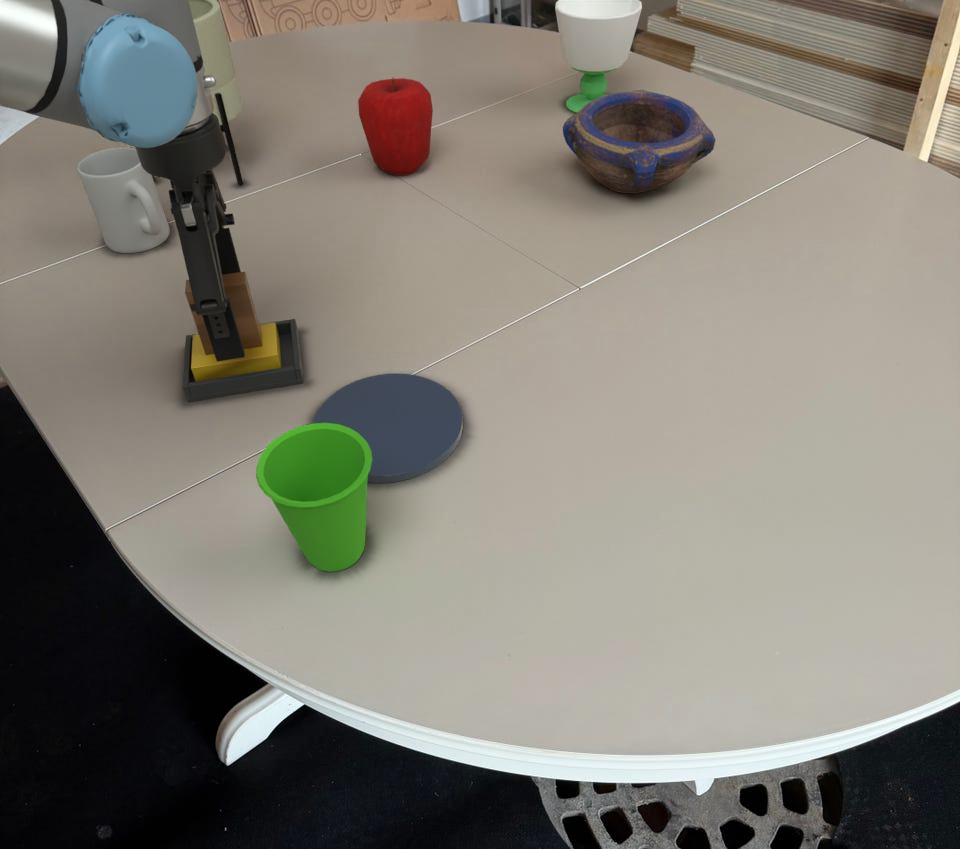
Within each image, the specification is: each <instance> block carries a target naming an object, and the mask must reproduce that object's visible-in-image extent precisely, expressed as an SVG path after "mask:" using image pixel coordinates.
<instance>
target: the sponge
mask: <svg viewBox="0 0 960 849" xmlns="http://www.w3.org/2000/svg"><path fill="white" fill-rule="evenodd" d="M222 278H223V283H224V289H225V294H226V297H227V299H228V298H229V300H230V303H231V307H232V310H233V314H234V317H235V321H236V324H237V328H238V331H239V335H240V338H241V342H242V345H243V349H244V352H245V357H243V358H237V359H230V360H224V361H218V362H217V360H216V357H215V354H214V351H213V348H212V345H211V341H210V338H209V335H208V332H207V329H206V326H205V323H204V319H203V316H202V315H200V316H198V315H197V314H196V312H195V311H194V312H192V311H191V308H190V304H194V299H193V295H192V290H191V286H190V282H189V279H185V287H184V288H185V289H184V294H185V298H186V300H187V303H188V305H189V309H190V312H191V315H192V318H193V321H194V324H195V327H196V330H197V333H195V334H196V335H193V334H192V335H193V342H192V360H191V370H192V372H193V375H194V378H195V381H196V382H197V381H203V380H209V379H215V378H221V377H228V376H234V375H240V374H246V373H252V372H258V371H265V370H271V369H277V368H282V365H281V351H280V339H279V335H278V331H277V327H276V323H275V322H276V321H273V322H274V323H270V322H266V323H267V324H264V323H260V320H259V316H258V313H257V310H256V305H255V301H254V298H253V294H252V290H251V287H250V284H249V283H250V282H249V279H248V275H247V272H246V271H245V270H244V271H241V272H237V273H231V274H224V275H222ZM260 324H261V325H260Z"/></svg>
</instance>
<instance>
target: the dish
mask: <svg viewBox="0 0 960 849" xmlns="http://www.w3.org/2000/svg"><path fill="white" fill-rule="evenodd" d="M274 322H275V323H276V327H277V331H278V335H279V339H280V351H281V365H282V368H277V369H271V370H265V371H258V372H252V373H246V374H240V375H234V376H228V377H221V378H215V379H209V380H203V381H197V382H196V381H195V378H194V375H193V372H192V370H191V360H192V342H193V335H196V334H197V333H194V334H193V333H192V334H187V335H185V342H184V355H183V356H184V358H183V370H182V371H183V372H182V386H181V387H182V390H183V393H184V395H185V398H186V401H187V402H188V403H190V402H197V401H202V400H209V399H214V398H221V397H227V396H233V395H238V394H239V395H240V394H245V393H250V392H257V391H263V390H269V389H275V388H282V387H286V386H287V387H288V386H292V385H293V386H294V385H299V384H300V385H301V384H304V382H305V380H304V372H303V363H302V362H303V361H302V355H301V354H302V353H301V343H300V342H301V341H300V334H299V330H298V328H299V327H298V324H297V319H296V318H291V319H284V320H283V319H282V320H278V321H271V322H269V323H274ZM267 323H268V322H264V323H263V324H267ZM259 324H260V325H261V324H262V323H259Z"/></svg>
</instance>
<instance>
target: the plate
mask: <svg viewBox="0 0 960 849" xmlns="http://www.w3.org/2000/svg"><path fill="white" fill-rule="evenodd" d="M463 419H464V418H463V412H462V408H461V405H460V402H458V399H457V397H455V395H454V394H453V393H452V392H451V391H450V390H448V389H447V388H446V387H445V386H444V385H442V384H440V383H439V382H437V381H435V380H432V379H430V378H427V377H424V376H421V375H415V374H411V373H383V374H376V375H371V376H367V377H364V378H360V379H358V380H354V381H353V382H350V383H348V384H346V385H344V386H343V387H341V388H339V389H337V390H336V391H335V392H333V394H331V395H330V396H329V397H328V398H327V399H326V400H325V401H324V402H323V403H322V404H321V406H320V407H319V409H318V410H317V412H316V414H315V417H314V419H313V422H312V424H315V423H331V424H339V425H342V426H345V427H348V428H351V429H352V430H354V431H356V432H357V433H359V434H360V435H361V436H362V437H363V438H364V439H365V440H366V441H367V443H368V445H369V447H370V449H371V452H372V464H371V468H370V471H369V473H368V479H367V483H370V484H390V483H397V482H398V483H399V482H403V481H406V480H410V479H413V478H416V477H419V476H422V475H424V474H426V473H428V472H430V471H432V470H434V469H435V468H437V467H438V466H440V465H441V464H442V463H444V462H445V461H446V460H447V459H448V458H449V457H451V455H452V454H453V452H454V451H455V450H456V449H457V447H458V445H459V444H460V441H461V438H462V436H463V429H464V420H463Z"/></svg>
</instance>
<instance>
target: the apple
mask: <svg viewBox="0 0 960 849" xmlns="http://www.w3.org/2000/svg"><path fill="white" fill-rule="evenodd" d="M357 104H358V106H357V107H358V116H359V119H360V123H361V127H362V129H363V132H364V135H365V139H366V141H367V144H368V148H369V151H370V156H371V157H372V160H373V163H374V164H376V165H377V166H378V167H379V168H380V169H381V170H382V171H384V172H385V173H387V174H390V175H393V176H409V175H412V174H414V173H415V172H416V171H418V170H419V169H420V168H421V167H422V165H423V164H424V163H425V162H426V161H427V160H428V159H429V156H430V151H431V137H432V127H433V126H432V124H433V114H434V112H433V111H434V108H433V102H432V96H431V93H430V91H429V90H428V89H427V87H425V85H424V84H423V83H422V82H420V81H418V80H416V79H411V78H403V77H402V78H401V77H400V78H394V77H392V78H388V79H387V78H385V79H380V80H375V81H372V82H370V83H369V84H367V85H366V86H365V87H364V89H363V90H362V93H361V94H360V96H359V97H358V99H357Z"/></svg>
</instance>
